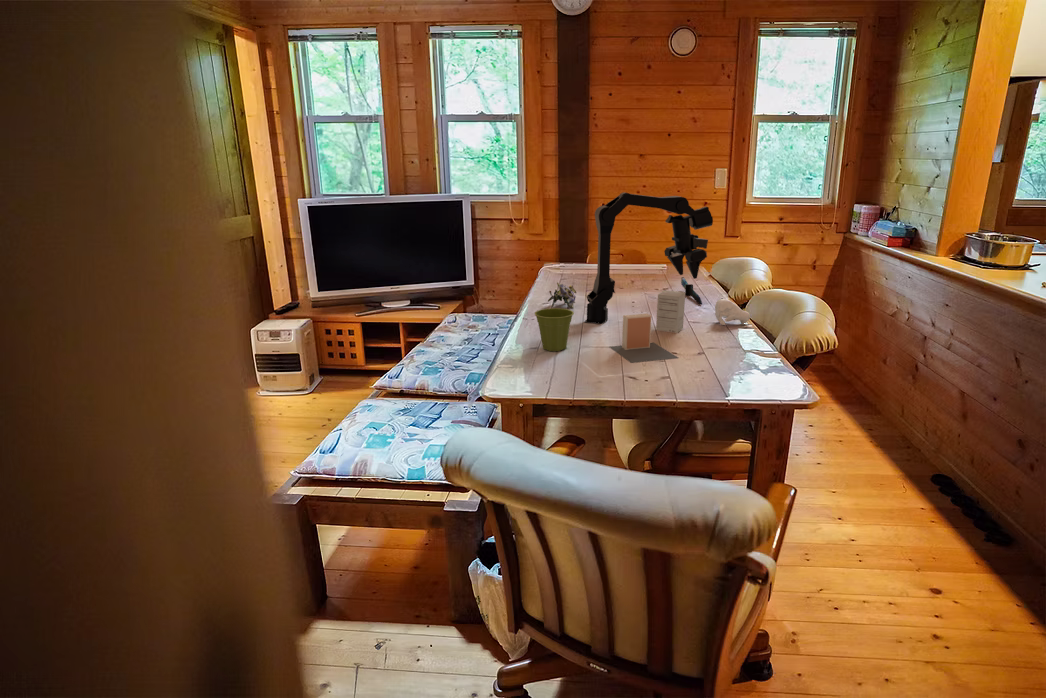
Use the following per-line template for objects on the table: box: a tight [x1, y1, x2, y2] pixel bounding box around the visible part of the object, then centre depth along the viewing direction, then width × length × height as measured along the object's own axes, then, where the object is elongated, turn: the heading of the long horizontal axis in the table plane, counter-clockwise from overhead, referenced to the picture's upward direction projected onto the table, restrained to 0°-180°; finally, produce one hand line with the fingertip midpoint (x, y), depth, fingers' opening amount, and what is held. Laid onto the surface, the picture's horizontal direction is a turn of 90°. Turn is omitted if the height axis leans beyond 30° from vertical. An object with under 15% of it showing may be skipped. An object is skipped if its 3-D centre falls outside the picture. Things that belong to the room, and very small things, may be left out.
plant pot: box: [534, 307, 575, 352], centre depth 186 cm, size 12×12×11 cm
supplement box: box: [655, 290, 686, 334], centre depth 204 cm, size 7×7×13 cm
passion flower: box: [547, 282, 577, 309], centre depth 237 cm, size 11×11×12 cm
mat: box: [609, 342, 679, 364], centre depth 182 cm, size 16×15×1 cm
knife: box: [680, 276, 703, 306], centre depth 251 cm, size 31×3×4 cm, turn 177°
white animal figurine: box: [714, 298, 751, 326], centre depth 211 cm, size 6×8×12 cm
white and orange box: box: [621, 313, 652, 350], centre depth 185 cm, size 3×8×10 cm, turn 105°
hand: (688, 276), depth 215 cm, fingers open, 9 cm apart
